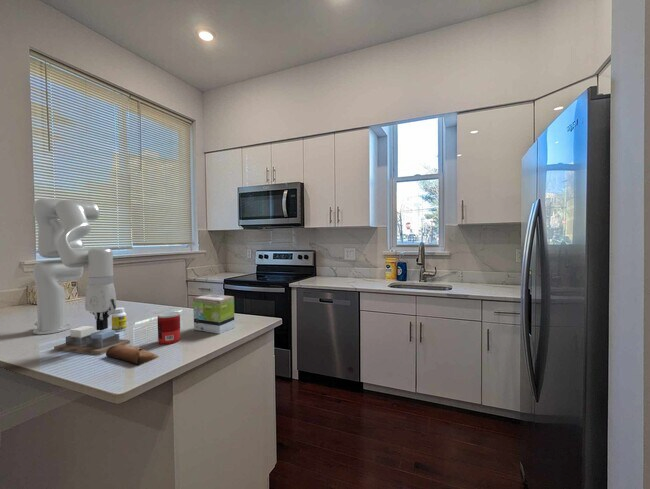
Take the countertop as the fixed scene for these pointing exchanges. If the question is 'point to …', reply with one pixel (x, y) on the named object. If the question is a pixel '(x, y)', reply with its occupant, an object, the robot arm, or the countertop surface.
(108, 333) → the light blue block
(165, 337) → the canned food
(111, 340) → the key panel
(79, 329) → the white key
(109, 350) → the sunglasses case
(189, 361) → the countertop surface
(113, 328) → the supplement bottle
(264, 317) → the countertop surface
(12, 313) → the countertop surface
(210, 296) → the tea box
